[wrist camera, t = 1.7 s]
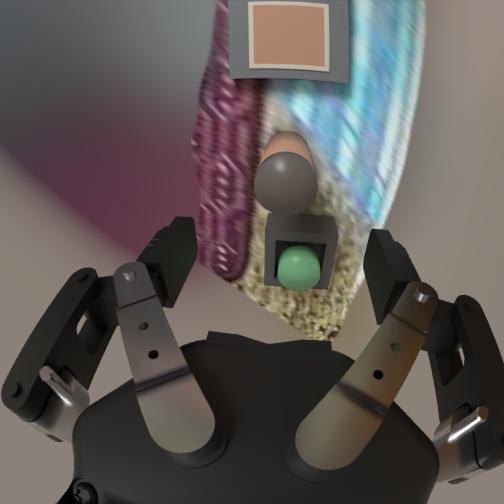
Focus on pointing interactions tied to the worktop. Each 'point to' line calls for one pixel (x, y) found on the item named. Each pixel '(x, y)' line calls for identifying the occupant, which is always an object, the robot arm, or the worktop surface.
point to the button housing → (299, 243)
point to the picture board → (289, 39)
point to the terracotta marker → (286, 175)
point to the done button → (299, 268)
